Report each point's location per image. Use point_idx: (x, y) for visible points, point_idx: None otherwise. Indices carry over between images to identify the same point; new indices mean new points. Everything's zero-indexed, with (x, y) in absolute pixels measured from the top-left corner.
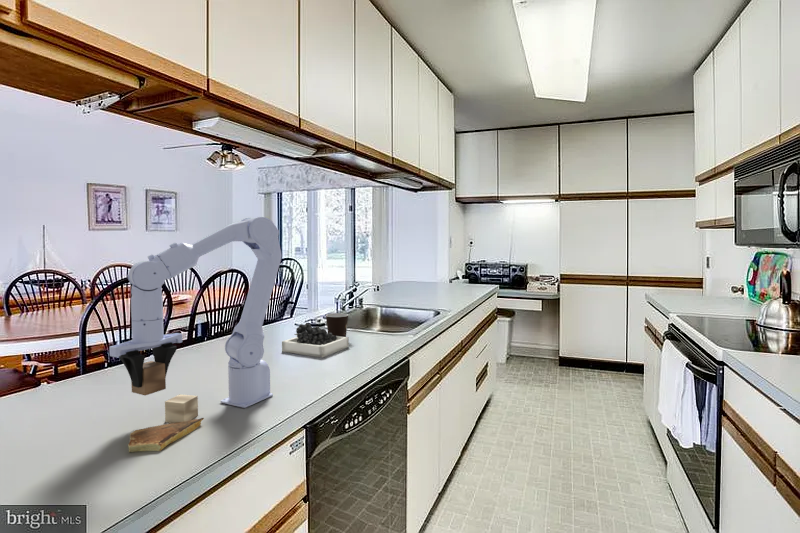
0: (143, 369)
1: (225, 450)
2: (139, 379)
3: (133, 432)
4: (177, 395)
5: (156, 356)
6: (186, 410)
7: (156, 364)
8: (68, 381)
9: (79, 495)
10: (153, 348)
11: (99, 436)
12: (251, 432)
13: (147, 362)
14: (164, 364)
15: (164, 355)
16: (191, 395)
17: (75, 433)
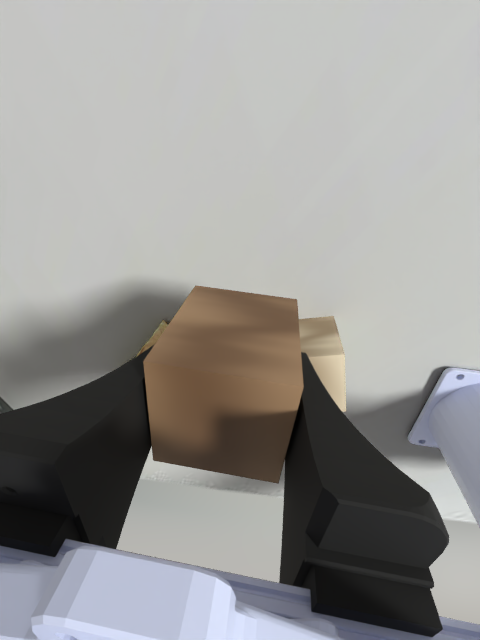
0: (154, 452)
1: (216, 483)
2: None
3: (159, 337)
4: (331, 356)
5: (302, 457)
6: None
7: (245, 459)
8: None
9: (25, 402)
10: (314, 504)
11: (124, 235)
12: None
13: (258, 391)
14: (275, 477)
15: (284, 532)
16: (344, 394)
17: (88, 133)
